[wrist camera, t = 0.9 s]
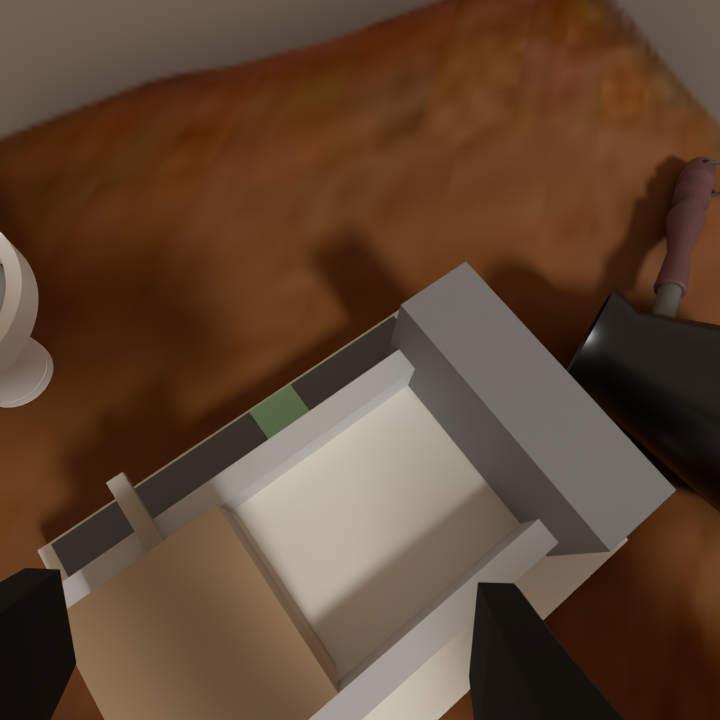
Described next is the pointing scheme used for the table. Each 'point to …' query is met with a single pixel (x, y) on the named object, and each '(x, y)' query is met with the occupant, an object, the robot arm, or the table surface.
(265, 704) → the gauge slider
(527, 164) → the table surface
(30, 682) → the robot arm
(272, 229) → the table surface
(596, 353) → the coffee pot
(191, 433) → the table surface
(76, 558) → the gauge base
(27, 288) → the white stepped post
